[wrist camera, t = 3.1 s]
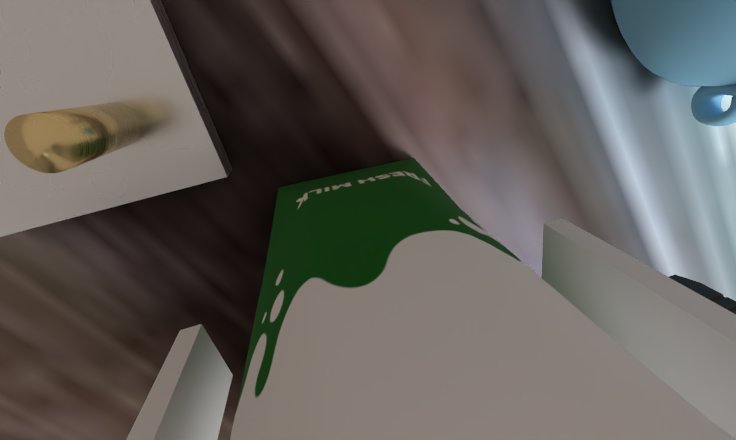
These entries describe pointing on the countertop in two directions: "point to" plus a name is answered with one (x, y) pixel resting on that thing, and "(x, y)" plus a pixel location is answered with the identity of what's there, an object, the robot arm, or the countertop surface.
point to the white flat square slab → (96, 110)
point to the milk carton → (429, 331)
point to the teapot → (686, 48)
